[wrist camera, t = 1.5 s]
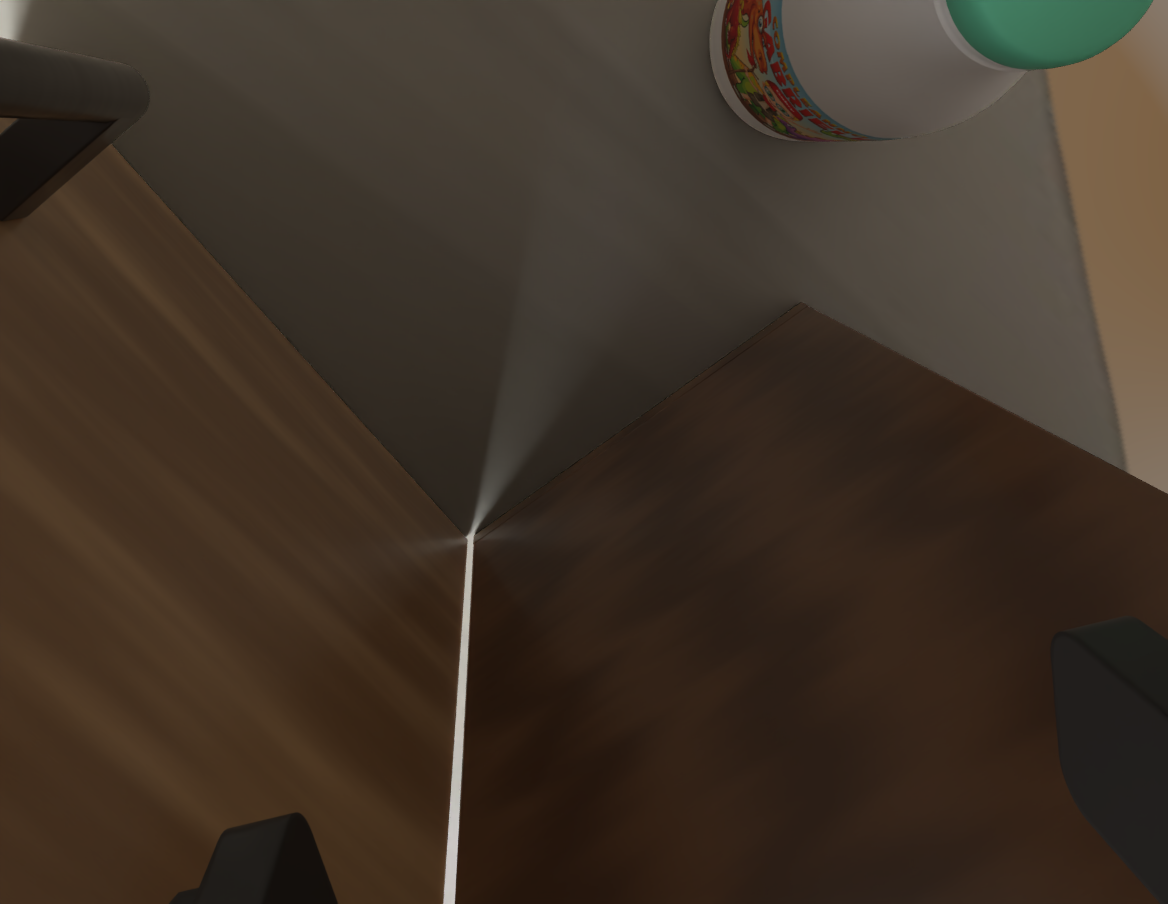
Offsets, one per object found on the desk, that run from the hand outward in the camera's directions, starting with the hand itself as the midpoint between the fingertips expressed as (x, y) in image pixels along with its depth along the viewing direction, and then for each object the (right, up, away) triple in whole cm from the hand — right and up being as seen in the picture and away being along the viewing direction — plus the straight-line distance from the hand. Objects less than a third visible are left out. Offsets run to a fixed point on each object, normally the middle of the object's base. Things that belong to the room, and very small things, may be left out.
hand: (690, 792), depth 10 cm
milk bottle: (+8, +20, +30) cm, 37 cm away
